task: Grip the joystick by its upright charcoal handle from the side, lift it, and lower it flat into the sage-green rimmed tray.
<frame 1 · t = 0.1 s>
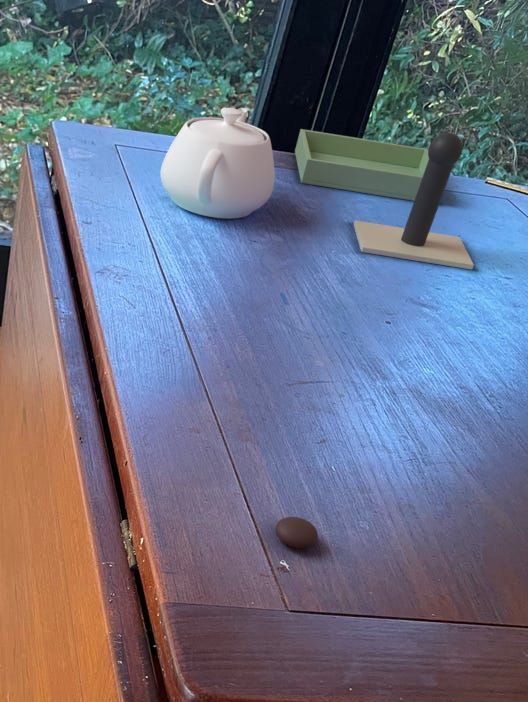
joystick: (410, 246, 119), on the table
chocolate truffle: (292, 543, 71), on the table
teapot: (211, 205, 122), on the table
tray: (363, 176, 137), on the table
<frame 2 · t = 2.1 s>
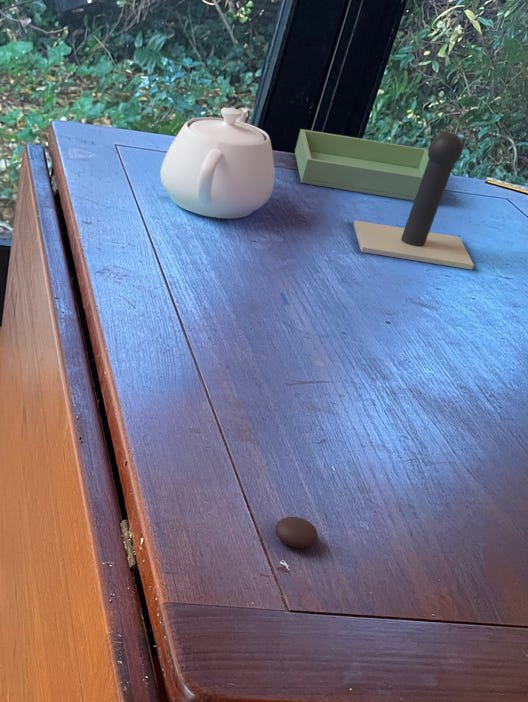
nothing on the table moved.
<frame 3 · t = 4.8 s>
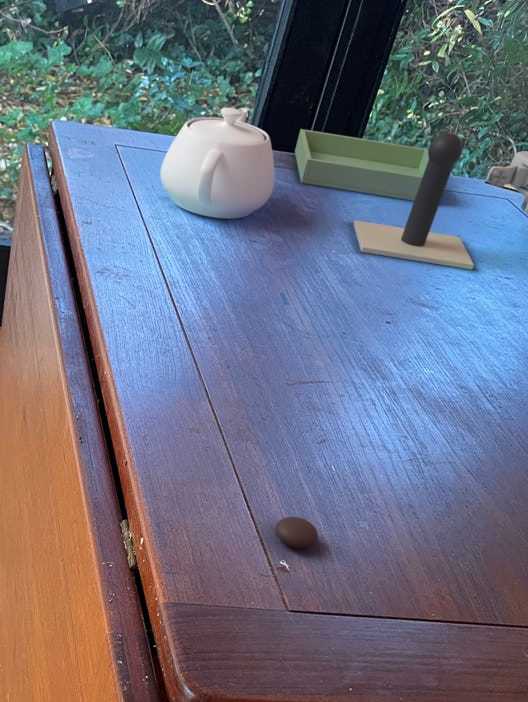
hand: (507, 189, 115), 7 cm above the table, tool horizontal, fingers open, 8 cm apart
nothing on the table moved.
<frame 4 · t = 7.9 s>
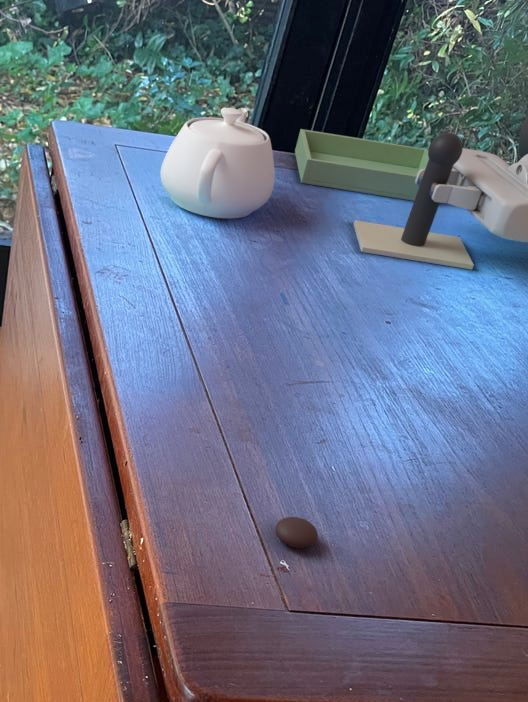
hand: (425, 184, 114), 7 cm above the table, tool horizontal, fingers closed on joystick, 3 cm apart
joystick: (410, 246, 119), on the table, touching gripper
everything else where it was.
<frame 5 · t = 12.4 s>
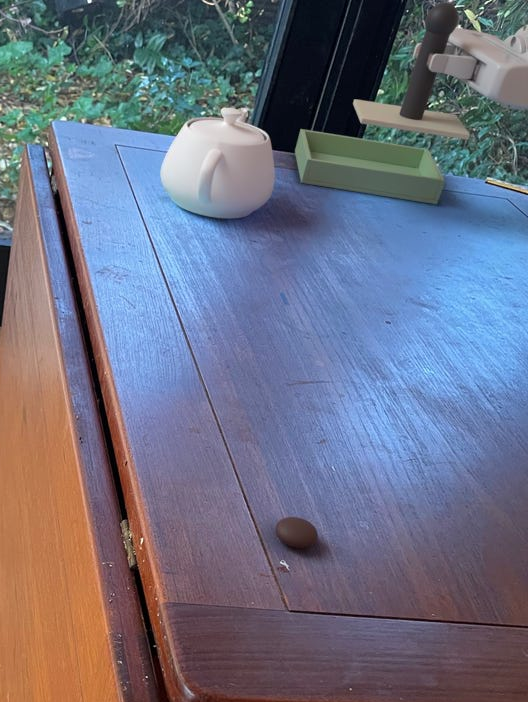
hand: (422, 56, 118), 17 cm above the table, tool horizontal, fingers closed on joystick, 3 cm apart
joystick: (408, 121, 123), point 10 cm above the table, touching gripper
everything else where it was.
when the fingers open (7 cm above the table, at t = 17.0 s): joystick stays where it is, resting on tray.
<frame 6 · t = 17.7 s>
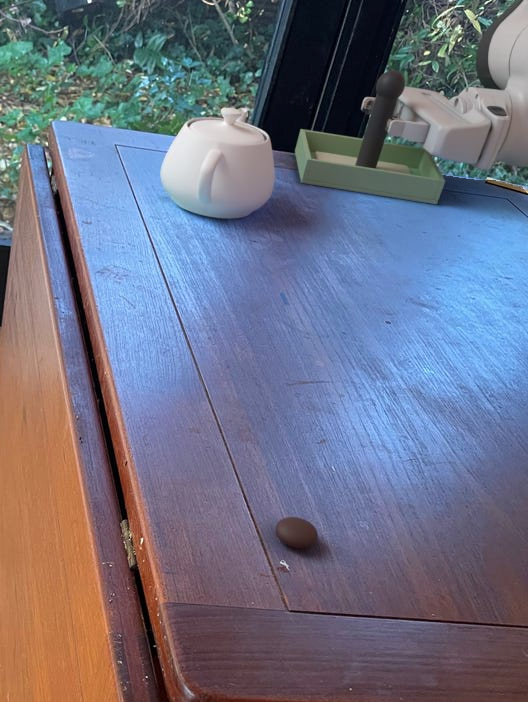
hand: (375, 115, 132), 8 cm above the table, tool horizontal, fingers open, 8 cm apart
joystick: (363, 172, 137), resting on tray
everything else where it was.
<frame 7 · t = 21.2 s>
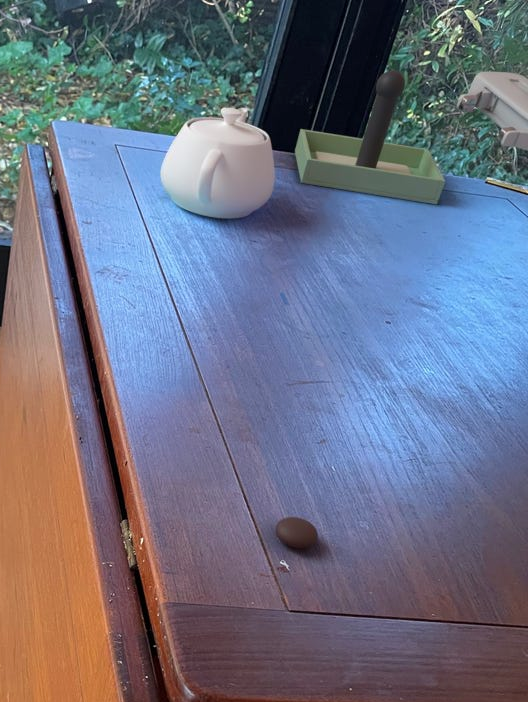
hand: (480, 120, 130), 9 cm above the table, tool horizontal, fingers open, 8 cm apart
nothing on the table moved.
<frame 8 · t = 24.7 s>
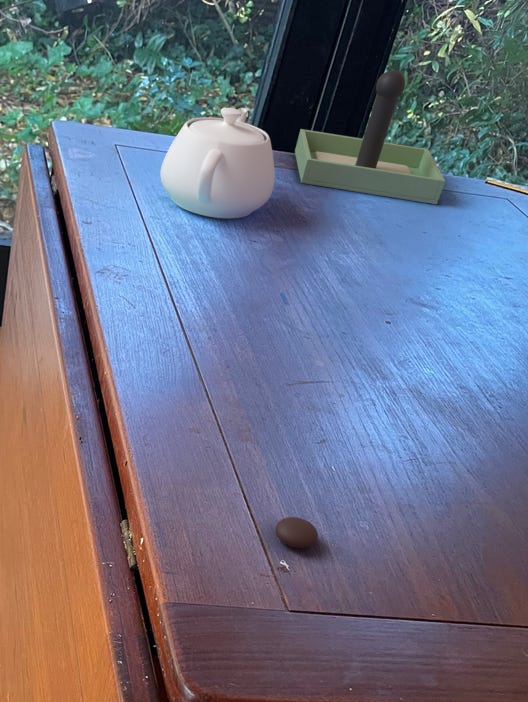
nothing on the table moved.
at the end: joystick 0.2 cm off-centre in the tray, point 0.5 cm above the tray's base; joystick tilted 0°; the gripper is holding nothing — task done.
